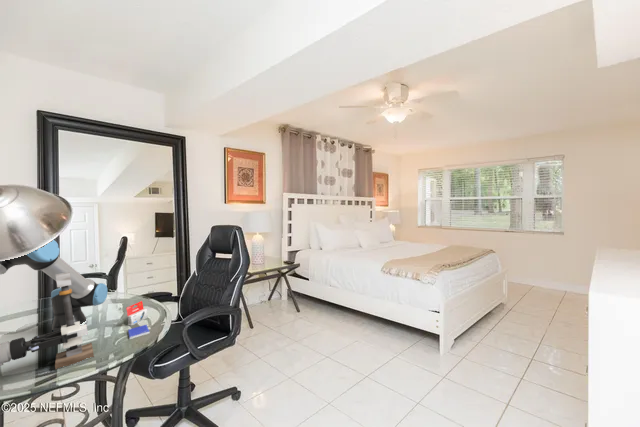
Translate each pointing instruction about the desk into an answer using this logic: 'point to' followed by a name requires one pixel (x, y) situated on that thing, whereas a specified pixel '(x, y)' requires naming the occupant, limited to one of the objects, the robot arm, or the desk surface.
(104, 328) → the desk surface
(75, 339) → the sleeve
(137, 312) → the ink cartridge box
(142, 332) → the hard drive
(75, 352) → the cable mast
